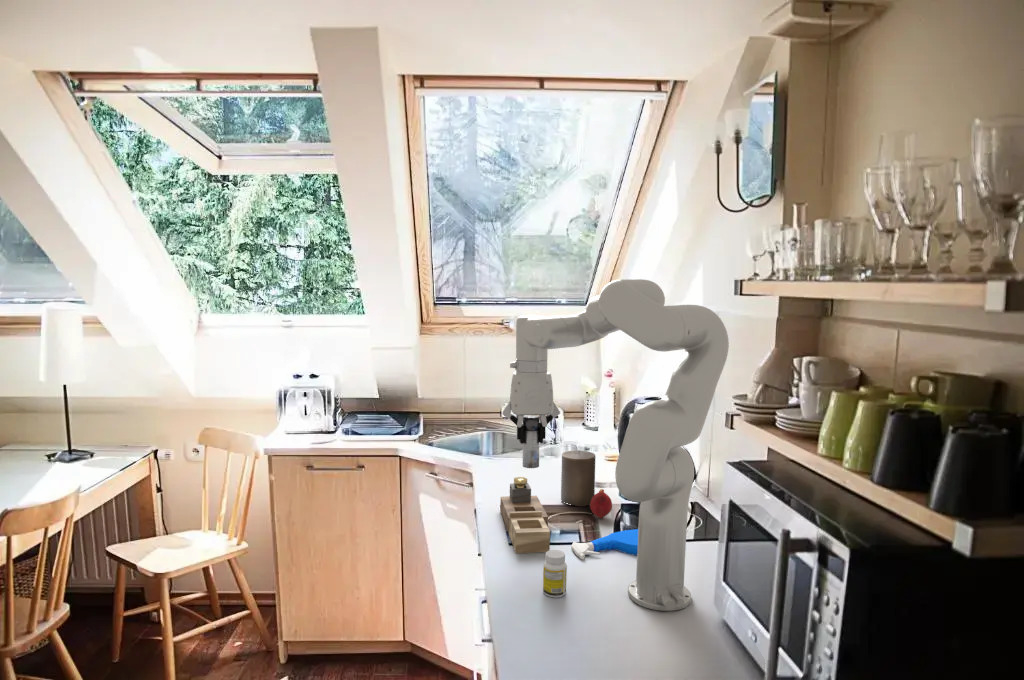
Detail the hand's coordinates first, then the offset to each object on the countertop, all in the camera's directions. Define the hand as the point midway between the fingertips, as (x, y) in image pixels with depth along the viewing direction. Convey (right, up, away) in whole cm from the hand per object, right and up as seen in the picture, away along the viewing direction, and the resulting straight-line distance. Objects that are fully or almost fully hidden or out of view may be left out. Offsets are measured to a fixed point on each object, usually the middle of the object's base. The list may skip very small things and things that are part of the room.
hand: (531, 441), depth 167 cm
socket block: (-2, -23, +15) cm, 27 cm away
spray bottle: (+22, -26, -1) cm, 34 cm away
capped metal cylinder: (0, -6, +1) cm, 6 cm away
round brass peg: (-2, -17, +19) cm, 26 cm away
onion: (+19, -23, +18) cm, 35 cm away
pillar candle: (+14, -22, +31) cm, 40 cm away
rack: (0, -25, 0) cm, 25 cm away
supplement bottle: (+4, -28, -25) cm, 37 cm away
